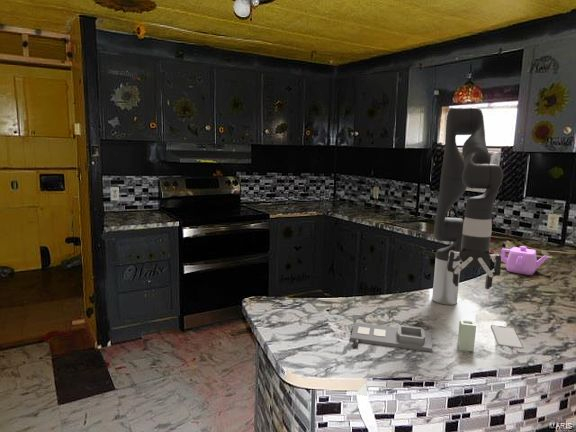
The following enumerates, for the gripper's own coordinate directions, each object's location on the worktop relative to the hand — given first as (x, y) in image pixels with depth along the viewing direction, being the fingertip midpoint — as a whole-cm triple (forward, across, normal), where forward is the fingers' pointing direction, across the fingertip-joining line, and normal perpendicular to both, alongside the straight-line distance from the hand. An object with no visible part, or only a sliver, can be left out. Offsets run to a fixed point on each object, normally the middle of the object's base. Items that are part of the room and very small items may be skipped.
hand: (471, 287), depth 124 cm
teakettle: (+19, -40, -98) cm, 107 cm away
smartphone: (+20, -14, -12) cm, 27 cm away
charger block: (+19, 0, 0) cm, 19 cm away
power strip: (+19, +22, +2) cm, 29 cm away
